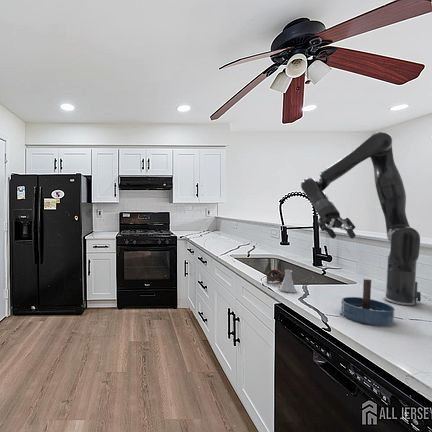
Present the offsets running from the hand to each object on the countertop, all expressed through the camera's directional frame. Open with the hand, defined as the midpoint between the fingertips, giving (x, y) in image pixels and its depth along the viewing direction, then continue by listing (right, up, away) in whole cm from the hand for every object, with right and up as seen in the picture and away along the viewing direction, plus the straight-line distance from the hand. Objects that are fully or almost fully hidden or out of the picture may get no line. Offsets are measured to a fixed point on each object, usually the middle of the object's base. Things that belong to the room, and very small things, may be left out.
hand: (344, 237), depth 120 cm
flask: (-16, -27, +16) cm, 36 cm away
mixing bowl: (-3, -29, -16) cm, 33 cm away
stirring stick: (-4, -28, -16) cm, 33 cm away
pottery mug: (-15, -27, +30) cm, 43 cm away
